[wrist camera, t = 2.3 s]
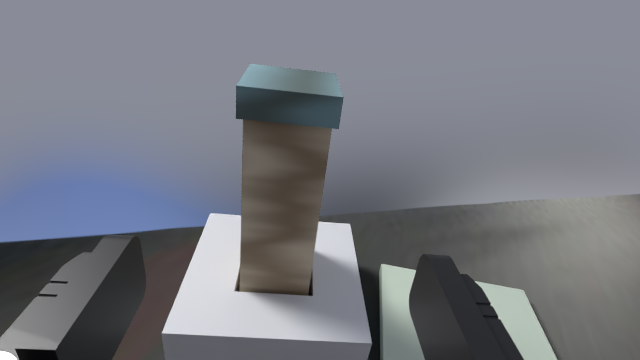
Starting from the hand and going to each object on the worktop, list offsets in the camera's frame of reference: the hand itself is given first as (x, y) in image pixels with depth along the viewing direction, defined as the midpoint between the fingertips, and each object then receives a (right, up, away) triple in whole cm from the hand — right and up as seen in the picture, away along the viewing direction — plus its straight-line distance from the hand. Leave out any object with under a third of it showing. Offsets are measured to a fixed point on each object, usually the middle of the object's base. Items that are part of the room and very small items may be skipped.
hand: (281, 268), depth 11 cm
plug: (-2, -7, +17) cm, 18 cm away
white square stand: (-2, -7, +17) cm, 18 cm away
